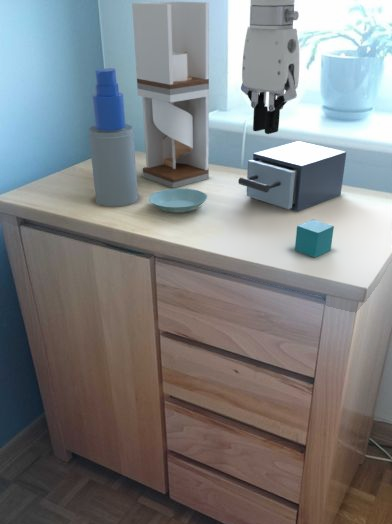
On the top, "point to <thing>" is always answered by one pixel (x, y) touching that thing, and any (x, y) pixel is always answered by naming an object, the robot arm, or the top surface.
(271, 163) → the drawer
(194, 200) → the saucer
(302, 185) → the mini chest of drawers
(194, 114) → the spiral staircase model
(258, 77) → the robot arm
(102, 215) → the top surface
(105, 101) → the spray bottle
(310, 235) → the cube
